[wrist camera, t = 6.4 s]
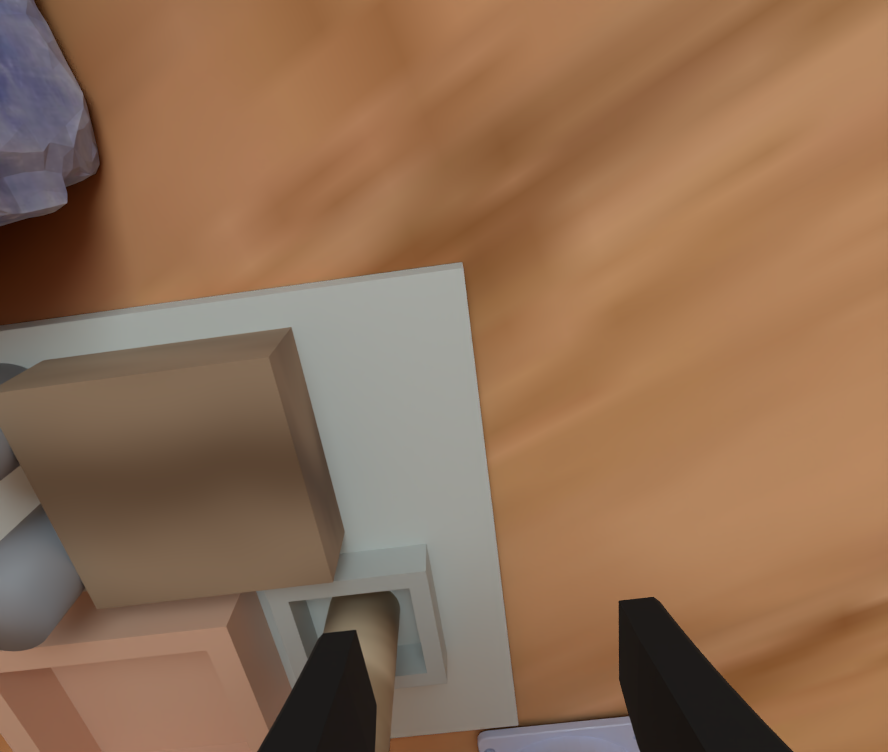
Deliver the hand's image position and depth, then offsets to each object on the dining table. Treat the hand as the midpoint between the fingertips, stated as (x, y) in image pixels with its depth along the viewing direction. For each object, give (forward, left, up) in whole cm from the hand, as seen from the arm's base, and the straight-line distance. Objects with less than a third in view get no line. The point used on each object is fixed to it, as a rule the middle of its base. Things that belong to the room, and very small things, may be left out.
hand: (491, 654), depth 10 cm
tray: (-11, +14, -9) cm, 20 cm away
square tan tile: (0, +9, -9) cm, 13 cm away
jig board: (-6, +10, -10) cm, 15 cm away
